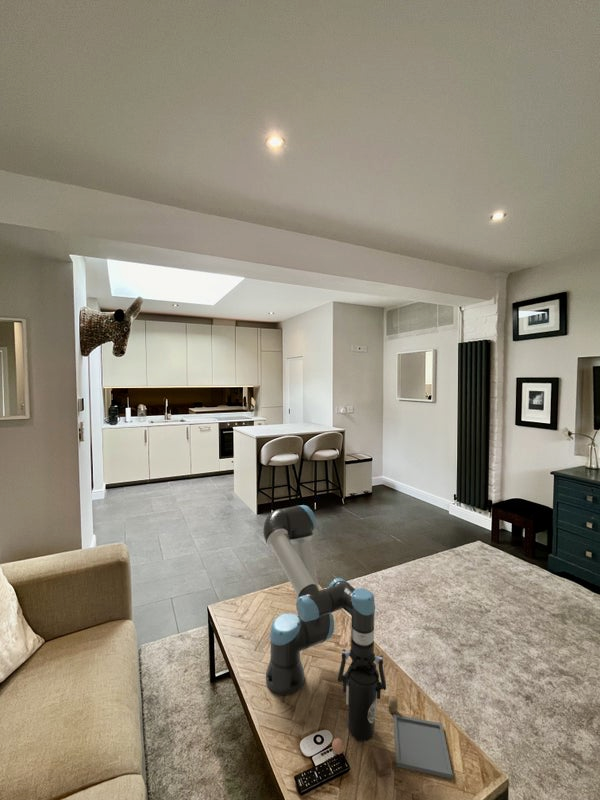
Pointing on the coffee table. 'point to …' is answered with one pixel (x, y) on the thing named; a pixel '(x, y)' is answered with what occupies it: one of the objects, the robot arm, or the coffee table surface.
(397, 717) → the tray
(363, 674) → the water bottle
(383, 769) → the walnut cube
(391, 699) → the cylinder
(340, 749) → the rubber ball
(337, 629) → the coffee table surface
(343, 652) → the robot arm
